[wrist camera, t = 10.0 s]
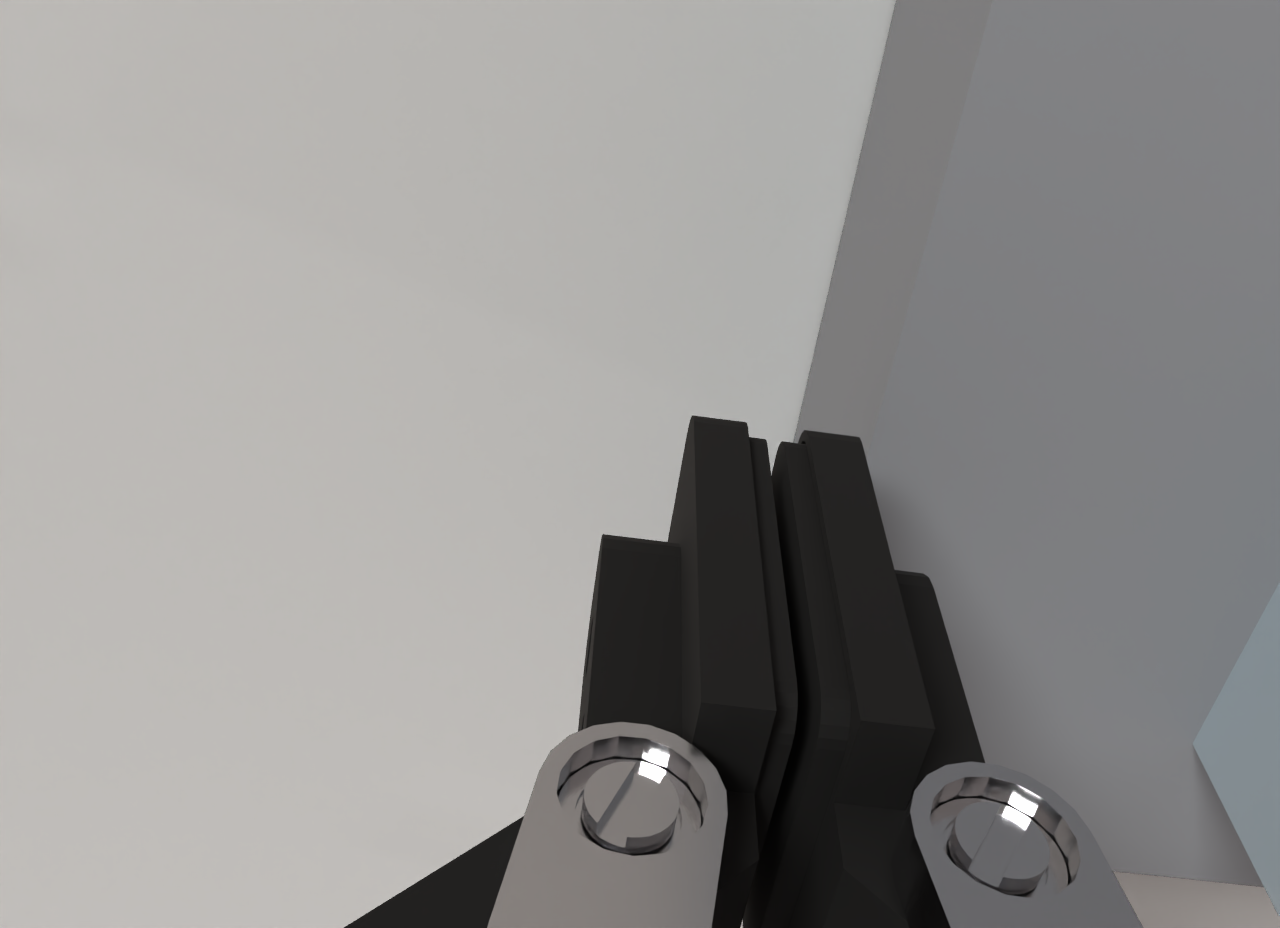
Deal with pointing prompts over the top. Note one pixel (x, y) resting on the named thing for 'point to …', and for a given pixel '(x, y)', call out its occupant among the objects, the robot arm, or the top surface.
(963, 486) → the grey flat block
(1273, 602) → the blue-grey tile
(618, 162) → the top surface
